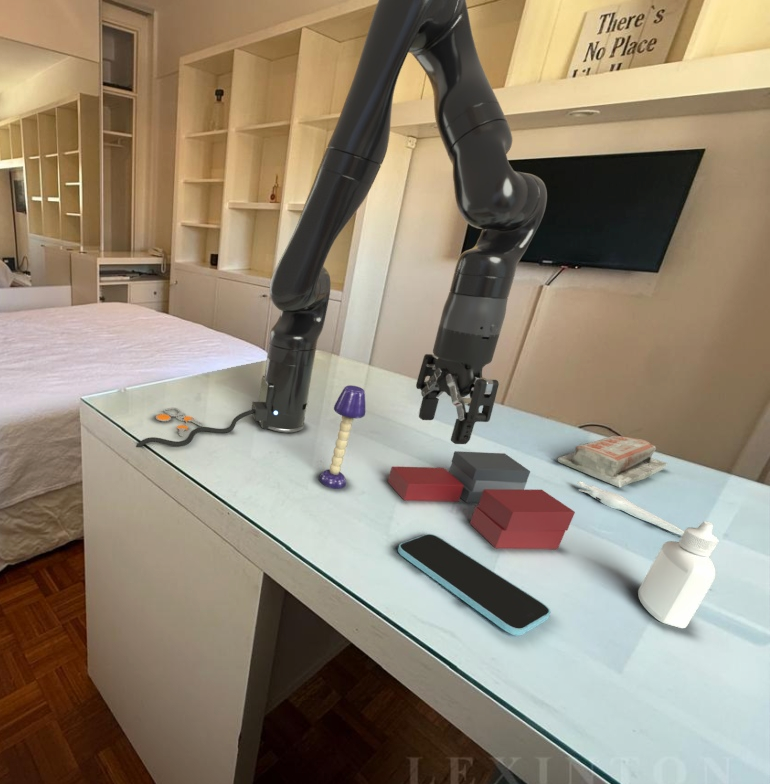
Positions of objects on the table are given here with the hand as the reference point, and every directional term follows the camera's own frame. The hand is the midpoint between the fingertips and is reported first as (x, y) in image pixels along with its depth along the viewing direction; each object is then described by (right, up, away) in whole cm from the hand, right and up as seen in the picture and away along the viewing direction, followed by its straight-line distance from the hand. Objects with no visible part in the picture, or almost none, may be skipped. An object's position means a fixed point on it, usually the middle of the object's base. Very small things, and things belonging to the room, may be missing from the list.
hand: (441, 430), depth 70 cm
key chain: (-41, 0, +23) cm, 47 cm away
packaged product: (+41, -8, +16) cm, 45 cm away
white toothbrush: (+30, -13, +1) cm, 33 cm away
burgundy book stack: (+7, -14, -6) cm, 17 cm away
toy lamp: (-15, -9, +5) cm, 18 cm away
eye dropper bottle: (+15, -19, -17) cm, 30 cm away
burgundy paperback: (-1, -10, +4) cm, 11 cm away
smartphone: (-6, -17, -15) cm, 24 cm away
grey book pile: (+9, -11, +5) cm, 15 cm away
